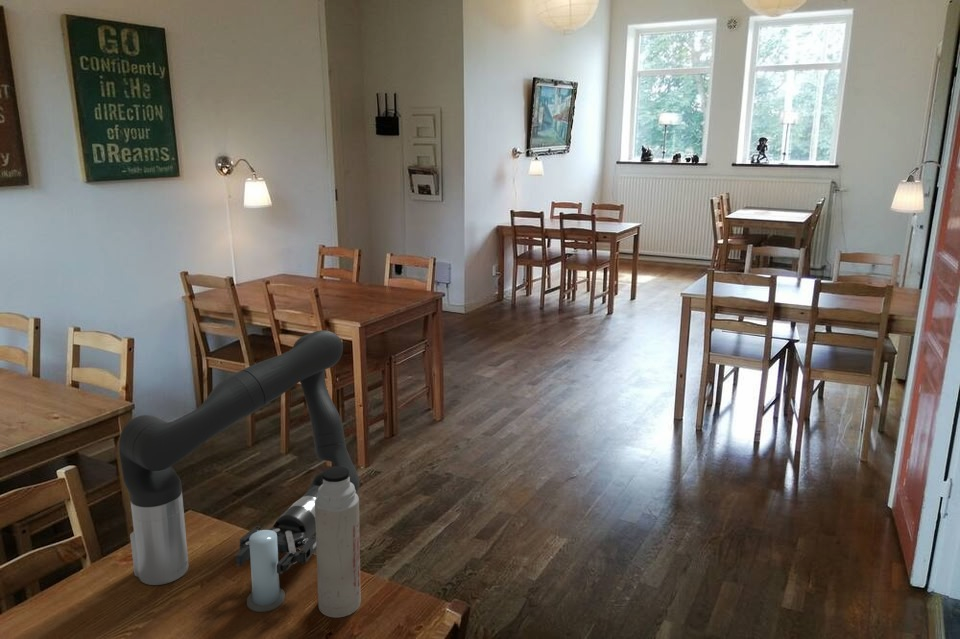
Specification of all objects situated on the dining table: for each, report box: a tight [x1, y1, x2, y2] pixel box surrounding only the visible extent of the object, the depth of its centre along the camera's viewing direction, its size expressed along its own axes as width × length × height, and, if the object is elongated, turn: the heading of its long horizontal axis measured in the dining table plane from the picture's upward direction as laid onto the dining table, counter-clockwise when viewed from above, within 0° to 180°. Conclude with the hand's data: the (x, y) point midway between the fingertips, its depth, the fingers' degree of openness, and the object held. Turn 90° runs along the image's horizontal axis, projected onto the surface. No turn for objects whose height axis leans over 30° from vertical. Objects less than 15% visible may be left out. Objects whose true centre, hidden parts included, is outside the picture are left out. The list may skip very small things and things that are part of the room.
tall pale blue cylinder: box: [249, 529, 280, 605], centre depth 129 cm, size 5×5×13 cm
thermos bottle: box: [315, 466, 362, 619], centre depth 127 cm, size 8×8×28 cm
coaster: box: [246, 587, 286, 613], centre depth 131 cm, size 7×7×1 cm
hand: (258, 565), depth 127 cm, fingers open, 8 cm apart
